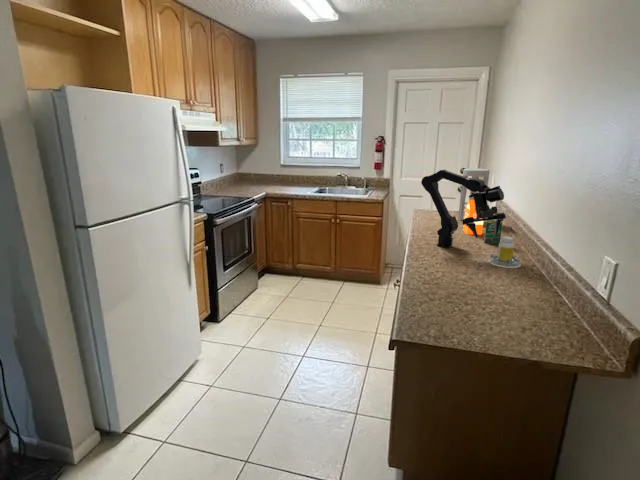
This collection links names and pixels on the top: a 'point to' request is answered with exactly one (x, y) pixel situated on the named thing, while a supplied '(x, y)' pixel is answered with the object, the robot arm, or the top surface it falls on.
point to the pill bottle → (505, 249)
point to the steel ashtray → (510, 264)
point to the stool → (475, 174)
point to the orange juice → (472, 213)
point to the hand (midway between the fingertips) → (486, 236)
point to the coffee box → (492, 233)
